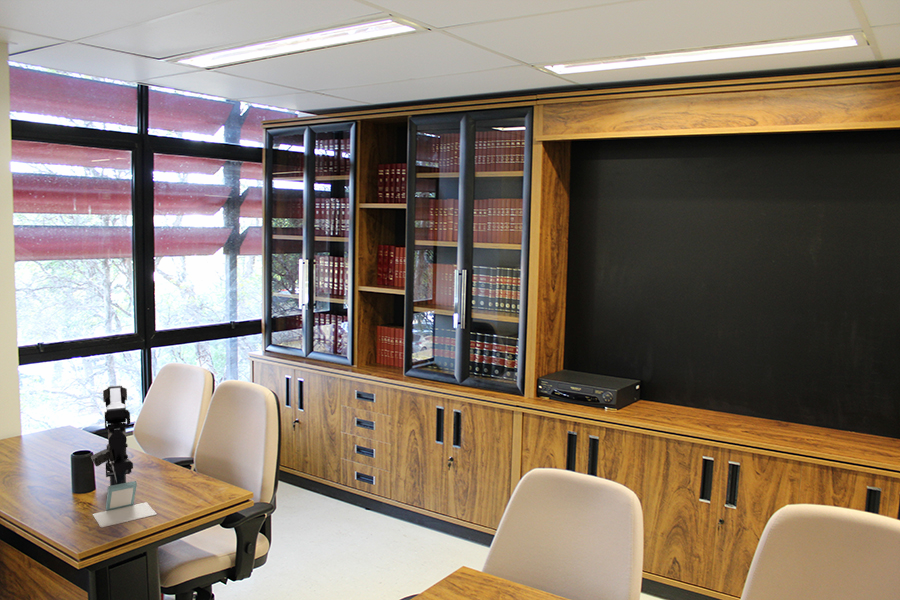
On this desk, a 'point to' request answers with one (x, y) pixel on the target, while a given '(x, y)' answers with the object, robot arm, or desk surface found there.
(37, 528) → the desk surface
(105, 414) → the robot arm
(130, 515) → the mat
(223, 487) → the desk surface
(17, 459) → the desk surface
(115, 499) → the tile
